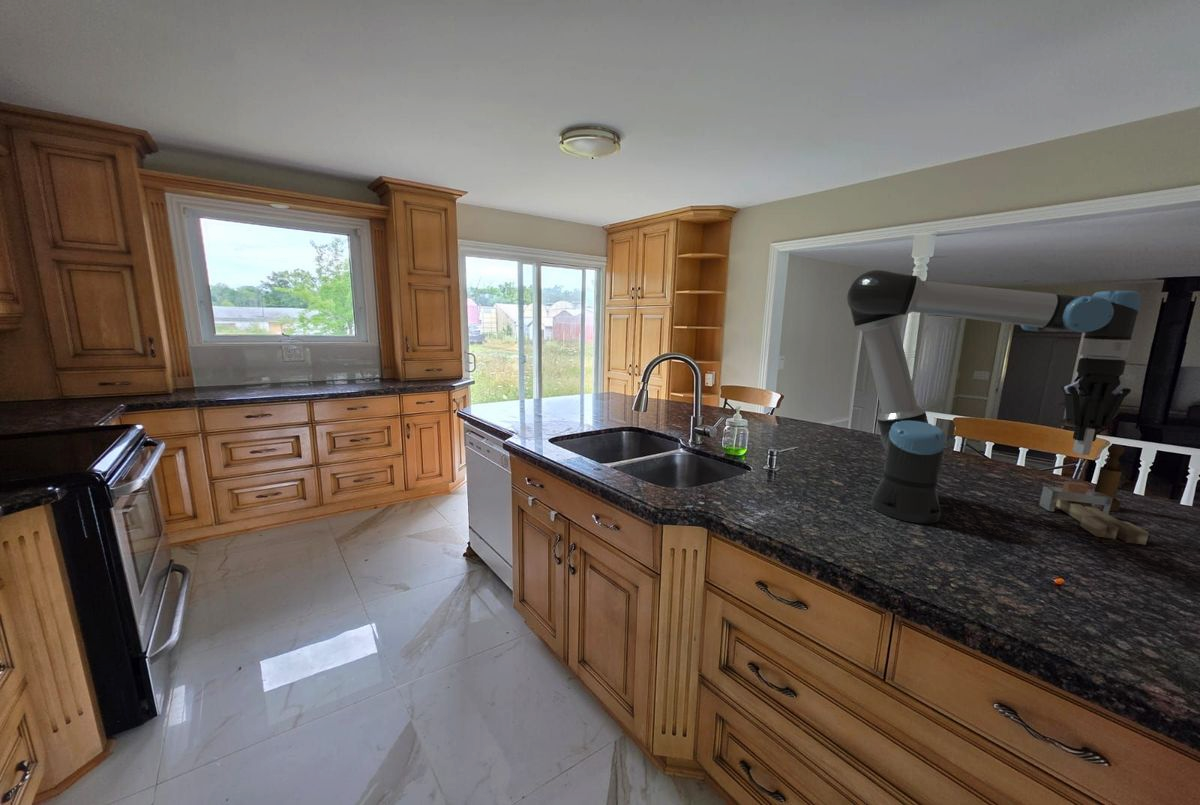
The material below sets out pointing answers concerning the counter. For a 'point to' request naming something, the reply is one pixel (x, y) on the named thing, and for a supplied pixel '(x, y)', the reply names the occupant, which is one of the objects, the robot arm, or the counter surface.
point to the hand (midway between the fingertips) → (1080, 453)
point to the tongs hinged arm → (1089, 519)
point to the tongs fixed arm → (1122, 527)
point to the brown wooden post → (1110, 476)
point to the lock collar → (1074, 496)
